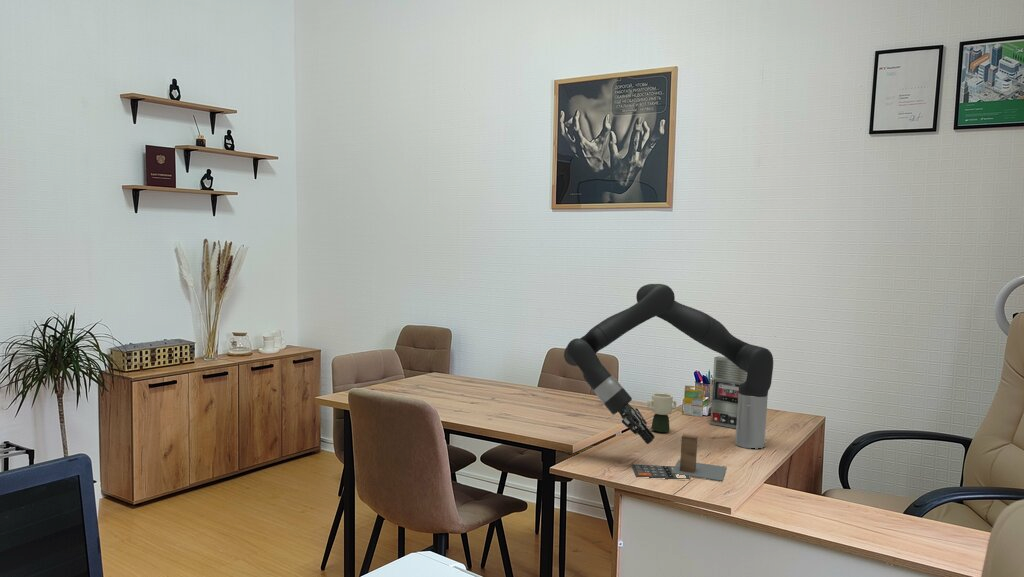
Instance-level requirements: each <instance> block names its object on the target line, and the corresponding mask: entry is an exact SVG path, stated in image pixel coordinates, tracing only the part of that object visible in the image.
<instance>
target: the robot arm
mask: <svg viewBox="0 0 1024 577" xmlns="http://www.w3.org/2000/svg"><path fill="white" fill-rule="evenodd" d="M635 298H636V303H635V304H632V305H631V306H630V307H628V308H626V309H623V310H622V311H619V312H617V313H614V314H613V315H610V316H609V317H606V318H605V319H603V320H601V321H600V322H599V323H598V324H596V325H594V326H593V327H591V329H590V330H588V331H587V333H586V334H584V335H583V336H581V337H580V338H574V339H572V340H570V341H569V342H568V344H567V345H566V347H565V349H564V352H563V358H564V360H565V362H566V363H567V364H568V365H569V366H571V367H572V366H573V367H578V368H579V369H580V371H581V372H582V374H583V376H582V377H583V378H584V381H585V382H586V383H587V384H588V386H589V387H590V389H592V391H593V392H594V393H595V395H596V396H597V397H598V399H599V400H600V401H601V402H602V404H604V405H603V406H605V407H606V408H607V410H608V411H609V412H610V413H611V414H612V415H616V414H617V413H619V415H620V417H621V419H622V420H621V423H622V424H623V425H624V426H625V427H626V428H627V429H628V430H630V432H632V433H633V434H634V435H638V436H639V437H640V438H641V439H642V440H643V441H644V442H645V444H646V445H650V444H651V443H652V442H653V440H654V439H655V438H656V437H655V435H654V434H653V433H652V431H651V430H650V429H649V428H648V423H647V421H646V420H645V418H644V416H643V415H642V413H641V412H640V411H639V409H638V407H633V406H632V405H630V403H631V401H632V400H633V399H632V398H633V397H631V395H630V394H629V393H628V392H627V390H626V389H625V388H624V387H623V385H621V383H620V382H619V381H618V380H617V379H616V378H615V377H614V376H613V375H612V374H611V373H610V372H609V371H608V369H607V368H606V367H605V366H604V365H603V364H602V363H601V360H600V358H599V357H598V356H597V353H598V352H599V351H601V350H603V349H604V348H606V347H608V346H609V345H611V344H612V343H613V342H615V341H617V340H618V339H620V338H621V337H622V336H623V335H624V334H627V333H628V332H629V331H631V330H632V329H634V328H636V327H638V326H639V325H641V324H643V323H645V322H646V321H649V320H651V319H652V318H655V317H656V318H659V319H661V320H663V321H665V322H667V323H668V324H670V325H671V326H672V327H675V328H676V329H677V330H678V331H680V332H681V333H683V334H685V335H687V337H689V338H691V339H692V340H694V341H696V342H697V343H699V344H701V345H702V346H704V347H706V348H707V349H710V350H712V351H714V352H716V353H718V354H720V355H722V357H726V358H728V359H729V360H730V361H731V362H733V363H734V364H735V365H736V366H738V367H739V368H740V369H742V370H744V371H746V372H747V379H746V381H745V382H744V383H742V384H740V385H739V393H738V408H737V424H736V428H735V442H734V443H735V445H736V446H739V447H740V448H744V449H751V448H755V449H754V450H759V449H758V448H761V449H764V448H765V441H766V429H767V428H766V426H767V412H768V398H769V397H768V395H769V390H771V385H772V380H773V379H772V378H773V373H774V372H773V371H774V356H773V354H772V352H771V350H769V349H768V348H765V347H763V346H758V345H755V344H750V343H749V342H748V343H747V342H745V341H744V340H741V339H740V338H737V337H736V336H734V335H733V334H732V333H731V332H729V330H728V329H727V328H726V326H725V325H724V324H722V323H721V322H720V321H719V320H717V319H716V318H714V317H713V316H712V315H709V314H707V313H705V312H704V311H701V310H698V309H696V308H693V307H690V306H687V305H685V304H683V303H680V302H678V301H677V300H675V292H674V291H673V289H672V288H671V287H670V286H669V285H666V284H663V283H648V284H645V285H642V286H641V287H640V288H638V290H637V292H636V297H635ZM763 447H764V448H763Z"/></svg>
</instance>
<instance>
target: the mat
mask: <svg viewBox="0 0 1024 577" xmlns="http://www.w3.org/2000/svg"><path fill="white" fill-rule="evenodd" d="M674 466H675V467H674V469H673V471H672V472H671V473H674V474H679V475H688V476H693V477H692V478H694V477H699V478H698V479H700V478H706V479H705V480H707V479H710V480H709V481H714V480H716V482H720V481H723V480H724V478H725V476H726V475H725V474H726V472H727V471H726V470H727V466H724V465H723V466H722V465H717V464H708V463H702V462H696V470H695V472H694V473H691V472H684V471H680V459H678V460H677V461H676V463H675V465H674ZM725 471H726V472H725Z"/></svg>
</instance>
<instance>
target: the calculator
mask: <svg viewBox="0 0 1024 577" xmlns="http://www.w3.org/2000/svg"><path fill="white" fill-rule="evenodd" d="M674 467H675V465H674V466H673V465H672V466H671V465H669V466H668V465H656V464H655V465H654V464H641V463H640V464H639V463H638V464H637V463H631V468H632V470H633V473H634V475H635V477H636V478H637V477H649V478H648V479H651V478H665V479H664V480H668V479H691V477H689V476H688V475H685V476H686V478H677V477H676V475H677V474H674V473H671V472H672V471H673V469H674ZM679 476H680V475H679ZM679 476H678V477H679Z"/></svg>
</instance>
